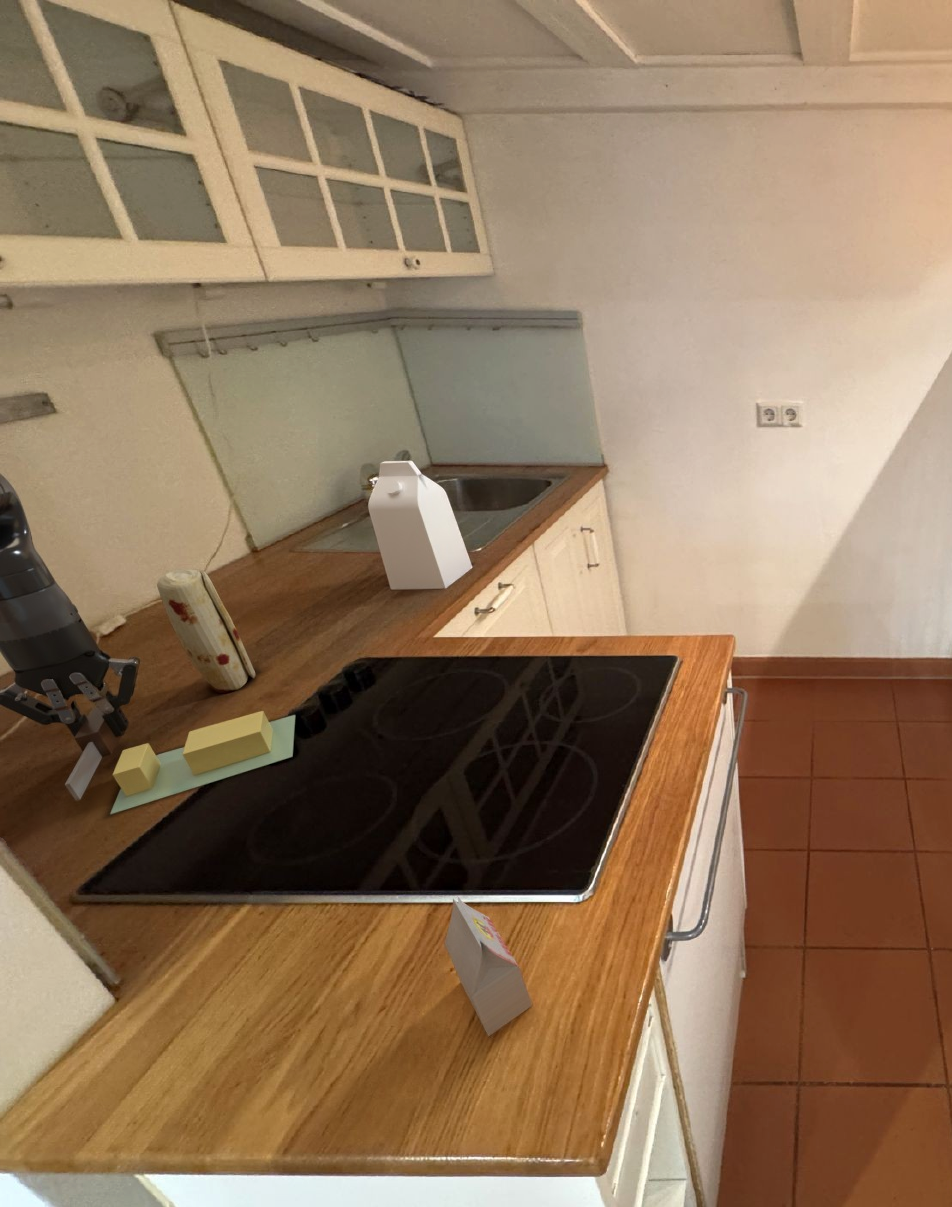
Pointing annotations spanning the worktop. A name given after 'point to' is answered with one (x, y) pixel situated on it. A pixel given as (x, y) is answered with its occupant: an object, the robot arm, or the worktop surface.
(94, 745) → the butter knife
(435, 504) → the milk
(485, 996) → the gable top carton
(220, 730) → the butter block
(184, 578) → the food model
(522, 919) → the worktop surface
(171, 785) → the butter dish
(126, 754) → the block
